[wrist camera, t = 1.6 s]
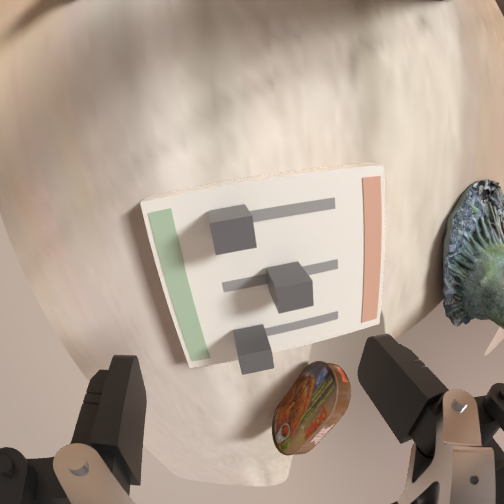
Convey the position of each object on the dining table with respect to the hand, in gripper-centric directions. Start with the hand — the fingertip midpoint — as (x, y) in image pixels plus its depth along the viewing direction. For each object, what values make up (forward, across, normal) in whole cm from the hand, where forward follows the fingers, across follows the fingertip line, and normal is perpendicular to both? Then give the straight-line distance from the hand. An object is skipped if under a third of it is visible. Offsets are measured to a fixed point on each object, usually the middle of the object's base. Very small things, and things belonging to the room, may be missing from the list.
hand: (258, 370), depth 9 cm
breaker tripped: (+17, -6, +4) cm, 18 cm away
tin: (+20, -11, +23) cm, 32 cm away
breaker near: (+17, -1, -1) cm, 17 cm away
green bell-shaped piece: (+19, -37, +3) cm, 42 cm away
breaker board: (+19, -6, +4) cm, 21 cm away
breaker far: (+17, -3, +11) cm, 20 cm away
